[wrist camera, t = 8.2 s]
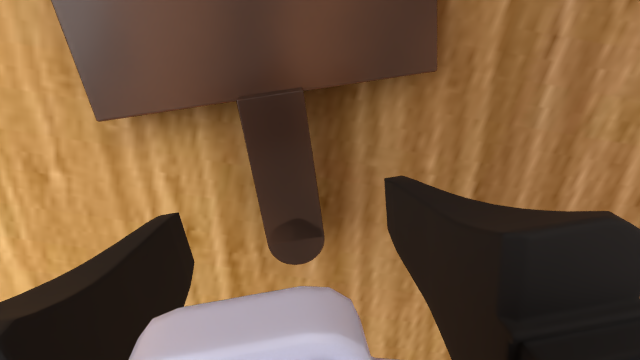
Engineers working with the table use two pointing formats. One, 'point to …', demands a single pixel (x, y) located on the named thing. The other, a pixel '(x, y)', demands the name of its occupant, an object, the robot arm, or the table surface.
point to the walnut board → (248, 76)
